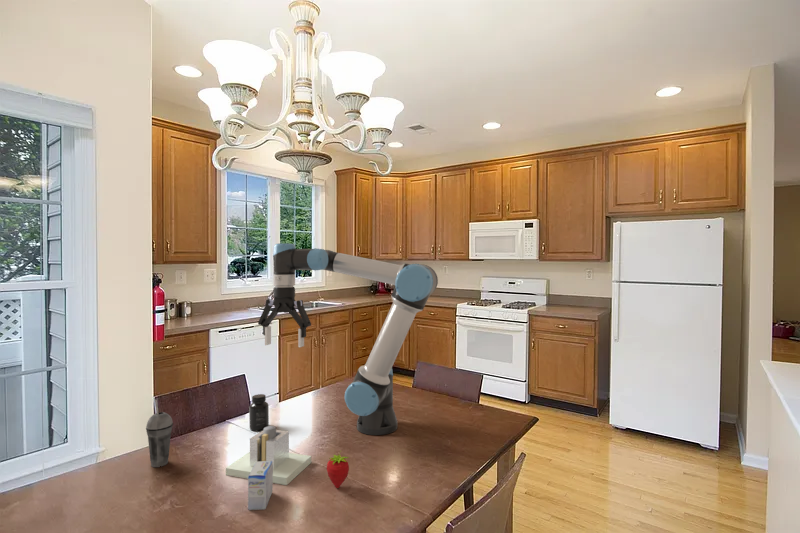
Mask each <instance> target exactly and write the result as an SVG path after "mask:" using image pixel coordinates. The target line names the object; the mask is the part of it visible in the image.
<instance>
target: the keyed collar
mask: <svg viewBox="0 0 800 533" xmlns="http://www.w3.org/2000/svg"><path fill="white" fill-rule="evenodd" d="M262 435H263V430H262V431H259V432H258V433H257V434H255V435H254V436H252V437H250V438H249V452H250V466H252V467H254V465H255V463H256V462H259V461H262ZM289 453H290V432H289V431H288V430H280V429H276V437H275V438H273V439H268V440H267V441H266V461H272V462H273V470H274V469H276V468H277V467H278V466H279V465H281V464H282V463H283V462H284V461H285V460H287V459H288V458H289Z"/></svg>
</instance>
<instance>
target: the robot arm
mask: <svg viewBox="0 0 800 533" xmlns="http://www.w3.org/2000/svg"><path fill="white" fill-rule="evenodd" d="M272 254H273V255H272V258H273V260H272V262H273V286H274V287H273V292H272V293H273V299H266V300H265V306H264V308H263V311H262V313H261V315H260V317H259V319H258V323H257V325H259V326H261V327H262V334H263V335H262V336H264V346H269V345H271V344H272V326H271V323H273V321H274V319H275V318H276V317H277V315H278V314H280V313H286V314H287V313H288V314H290V315H291V317H292V318H293V319H294V321H295V322H296V324H297V325H298V326H299V328H298V330H297V331H298V336H297V338H298V339H297V340H298V341H297V342H298V343H297V344H298V345H297V347H298V348H302V347H303V348H304V347H305V338H306V336H307V328H308V327H312V322H311V320H310V318H309V315H308V313H307V312H306V308H305V306H304V300H302V299H299V300H295V297H296V288H295V285H296V271H322V270H323V271H328V272H333V273H337V274H343V275H348V276H353V277H357V278H362V279H366V280H371V281H375V282H380V283H385V284H389V285H393V286H394V288H393V290H392V293H391V299H392V304H391V306H390V309H389V311H388V312H387V315H386V318H385V320H384V322H383V325H382V327H381V329H380V330H379V334H378V335H377V338H376V340H375V341H374V345H373V346H372V350H371V351H370V354H369V356H368V358H367V360H366V363H365V364H364V365H361V366H359V368H358V369H357V372H356V374H355V376H354V378H353V381H352V382H351V383H349V385H348V387H347V388H346V389H345V392H344V402H345V404H346V407H347V408H348V409H349V411H350V412H351V413H353V414H355V415H357V416H358V417H357V421H356V429H357V431H358V432H359V433H361V434H364V435H367V436H368V435H369V436H383V435H388V434H392V433H394V432H395V431H397V430H398V419H397V416H396V412H395V408H394V403H393V402H394V393H393V392H394V389H393V388H394V387H393V386H394V374H393V365H394V363H395V362H396V359H397V357H398V355H399V352H400V351H401V348H402V346H403V343H404V342H405V339H406V337H407V335H408V333H409V331H410V329H411V326H412V324H413V321H414V320H415V317H416V315H417V313H419V312H423V310H424V309H425V306H426V304H427V302H428V300H429V298H430V296H431V295H432V294H433V293H434V292H435V291H436V290H437V288H438V284H439V278H438V275H437V273H436V271H435V270H434V269H433V267H431V266H429V265H427V264H419V263H403V264H398V263H397V264H396V263H391V262H386V261H382V260H377V259H371V258H365V257H362V256H357V255H351V254H346V253H341V252H337V251H333V250H329V249H323V248H316V247H315V248H296V245H295V244H294V243H286V242H285V243H275V244H274V246H273V253H272ZM272 307H274V308H273V309H272ZM297 311H298V312H297ZM270 312H271V313H270Z"/></svg>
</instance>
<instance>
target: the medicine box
mask: <svg viewBox="0 0 800 533" xmlns="http://www.w3.org/2000/svg"><path fill="white" fill-rule="evenodd" d="M273 485H274V483H273V462H272V461H259V462H256V463H255V465H254V467H253V469H252V471H251V473H250V474H249V476H248V479H247V487H248V488H247V489H248V490H247V492H248V493H247V509H248V511H258V510H259V511H260V510H262V511H263V510H266V509H267V506H268V504H269V501H270V498H271V496H272V493H273Z"/></svg>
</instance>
